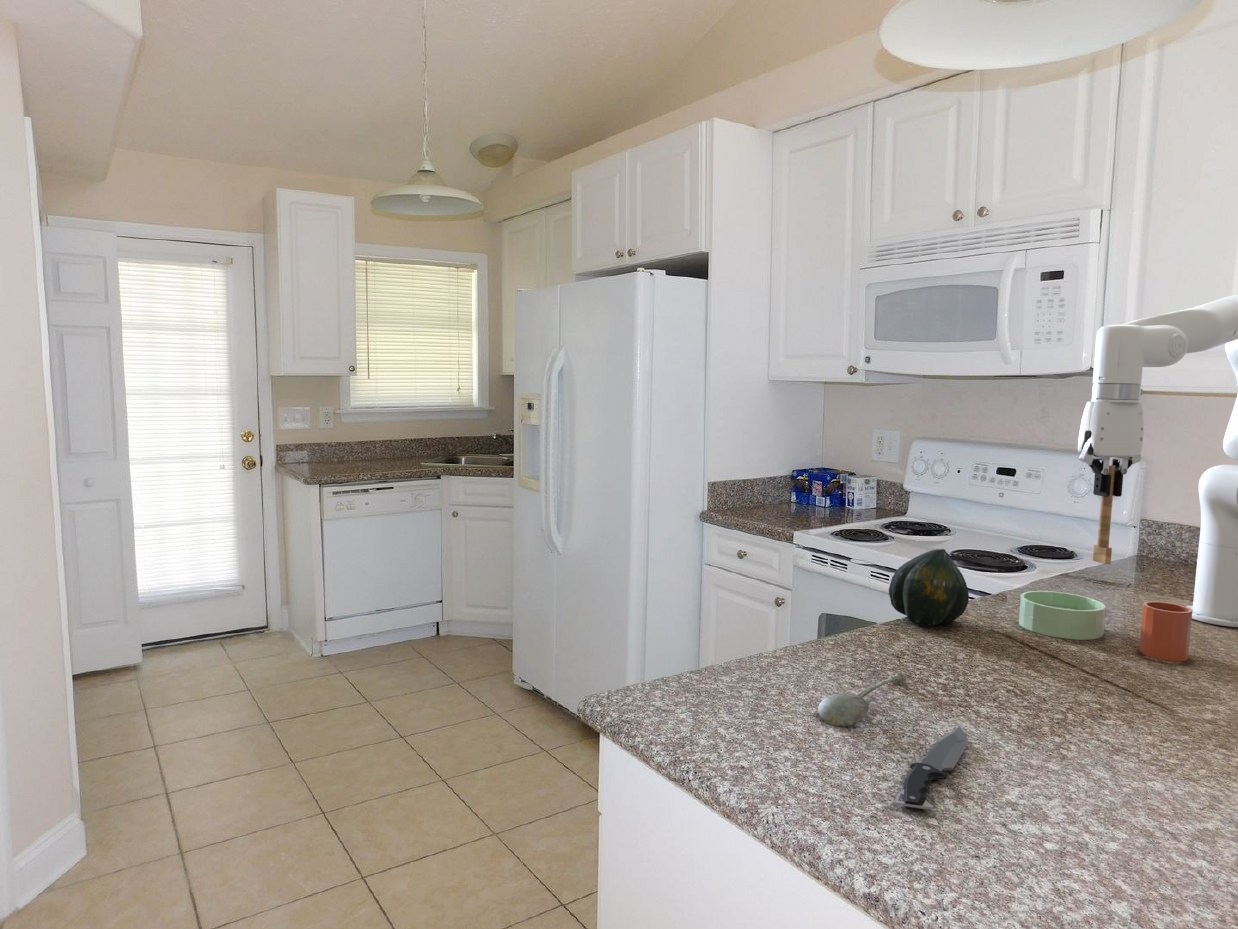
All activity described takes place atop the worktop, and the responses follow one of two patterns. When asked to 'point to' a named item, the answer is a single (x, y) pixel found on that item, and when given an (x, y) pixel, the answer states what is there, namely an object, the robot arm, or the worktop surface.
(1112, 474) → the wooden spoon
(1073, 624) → the bowl
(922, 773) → the knife
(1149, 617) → the crock
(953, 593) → the squash
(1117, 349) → the robot arm
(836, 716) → the soupspoon
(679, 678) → the worktop surface
